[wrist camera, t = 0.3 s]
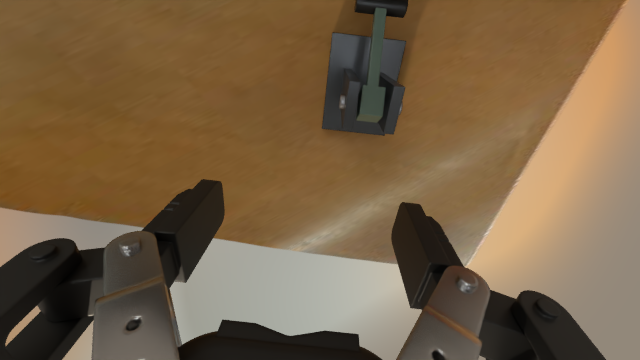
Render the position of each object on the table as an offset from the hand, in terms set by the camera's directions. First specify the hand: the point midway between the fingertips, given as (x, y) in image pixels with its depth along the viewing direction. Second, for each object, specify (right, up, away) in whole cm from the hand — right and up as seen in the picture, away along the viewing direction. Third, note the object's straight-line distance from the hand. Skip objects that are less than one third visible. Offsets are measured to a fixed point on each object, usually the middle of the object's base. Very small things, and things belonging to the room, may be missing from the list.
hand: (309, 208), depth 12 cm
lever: (+6, +13, +15) cm, 21 cm away
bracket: (+6, +14, +23) cm, 28 cm away
